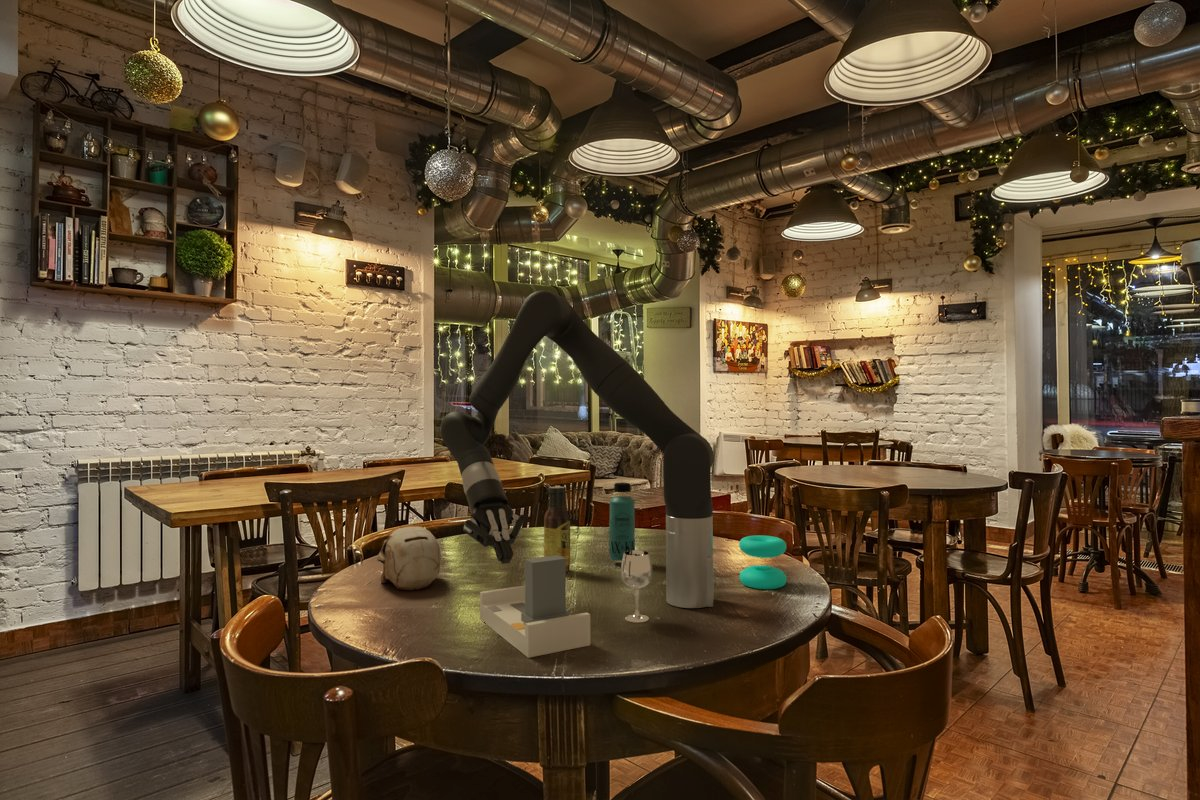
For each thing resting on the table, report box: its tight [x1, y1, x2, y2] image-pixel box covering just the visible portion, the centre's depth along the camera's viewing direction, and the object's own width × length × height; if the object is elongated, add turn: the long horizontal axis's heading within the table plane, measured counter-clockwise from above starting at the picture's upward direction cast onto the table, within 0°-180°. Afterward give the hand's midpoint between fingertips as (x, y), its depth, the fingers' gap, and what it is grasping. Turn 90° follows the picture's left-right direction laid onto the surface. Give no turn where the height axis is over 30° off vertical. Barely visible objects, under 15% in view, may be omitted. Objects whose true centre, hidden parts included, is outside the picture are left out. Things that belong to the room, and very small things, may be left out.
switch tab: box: [521, 555, 571, 623], centre depth 113 cm, size 4×7×10 cm, turn 120°
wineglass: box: [620, 549, 653, 623], centre depth 124 cm, size 6×6×12 cm
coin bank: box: [376, 526, 442, 591], centre depth 150 cm, size 16×17×13 cm
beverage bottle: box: [608, 482, 636, 562], centre depth 167 cm, size 6×7×20 cm
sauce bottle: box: [543, 486, 571, 573], centre depth 160 cm, size 6×6×20 cm
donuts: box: [738, 534, 788, 590], centre depth 148 cm, size 10×10×10 cm
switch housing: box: [479, 584, 591, 659], centre depth 118 cm, size 22×11×5 cm, turn 30°
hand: (507, 560), depth 128 cm, fingers closed
